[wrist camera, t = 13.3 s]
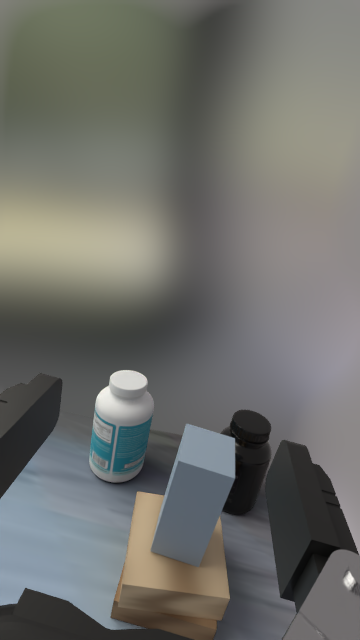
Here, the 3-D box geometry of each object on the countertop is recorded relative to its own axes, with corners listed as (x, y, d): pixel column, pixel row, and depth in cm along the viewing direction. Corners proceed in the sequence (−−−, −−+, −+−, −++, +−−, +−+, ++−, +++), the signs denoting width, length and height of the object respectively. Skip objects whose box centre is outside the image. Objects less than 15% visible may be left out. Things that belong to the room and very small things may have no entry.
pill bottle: (145, 449, 48) (161, 370, 44) (138, 490, 41) (156, 401, 37) (96, 440, 48) (107, 360, 44) (80, 480, 41) (91, 389, 37)
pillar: (150, 551, 29) (178, 460, 25) (160, 507, 33) (186, 423, 29) (198, 567, 29) (234, 478, 25) (203, 520, 33) (235, 438, 29)
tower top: (117, 606, 27) (122, 584, 26) (133, 511, 36) (137, 491, 35) (221, 620, 28) (229, 598, 27) (212, 523, 36) (218, 503, 35)
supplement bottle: (226, 466, 48) (247, 398, 44) (264, 500, 44) (291, 428, 40) (194, 486, 44) (214, 413, 40) (232, 527, 39) (260, 448, 35)
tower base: (109, 621, 29) (113, 600, 28) (135, 528, 37) (139, 509, 36) (208, 650, 28) (216, 629, 27) (212, 549, 37) (218, 530, 36)
